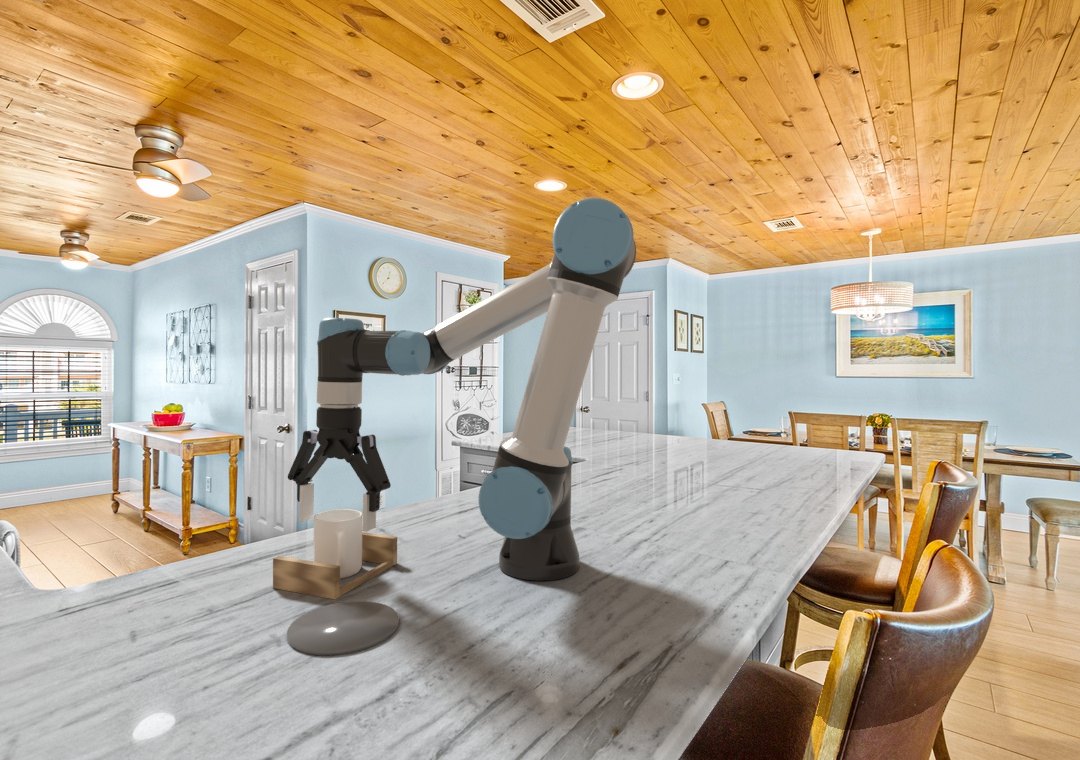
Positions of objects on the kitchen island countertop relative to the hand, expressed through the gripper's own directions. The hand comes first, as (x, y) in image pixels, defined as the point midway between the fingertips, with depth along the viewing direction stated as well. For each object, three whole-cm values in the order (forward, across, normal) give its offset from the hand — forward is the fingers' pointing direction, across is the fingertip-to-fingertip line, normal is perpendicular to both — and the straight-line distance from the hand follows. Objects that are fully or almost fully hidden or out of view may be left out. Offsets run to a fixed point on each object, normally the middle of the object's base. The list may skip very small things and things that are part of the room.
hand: (337, 524), depth 98 cm
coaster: (+9, -15, +16) cm, 23 cm away
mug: (+9, -1, 0) cm, 9 cm away
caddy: (+9, -1, 0) cm, 9 cm away
